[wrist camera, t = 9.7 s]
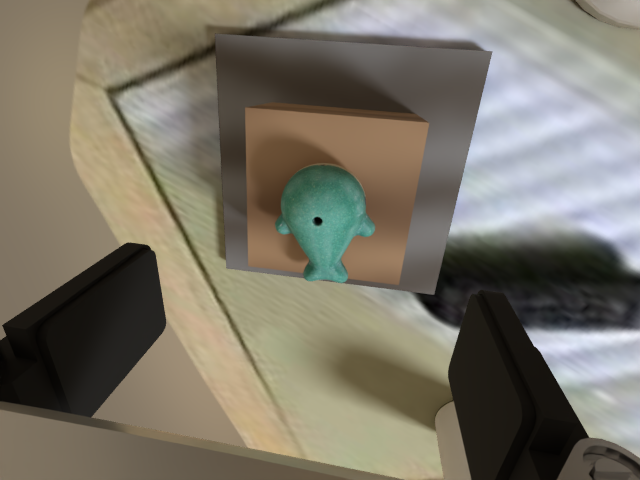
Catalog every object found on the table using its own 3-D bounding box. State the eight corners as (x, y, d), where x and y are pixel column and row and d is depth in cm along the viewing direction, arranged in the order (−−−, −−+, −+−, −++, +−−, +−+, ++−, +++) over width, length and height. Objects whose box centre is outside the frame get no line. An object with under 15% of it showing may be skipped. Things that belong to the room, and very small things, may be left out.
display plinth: (220, 35, 24) (167, 18, 18) (487, 52, 23) (533, 40, 16) (230, 263, 32) (195, 307, 25) (432, 288, 30) (448, 342, 24)
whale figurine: (379, 160, 20) (381, 177, 16) (371, 275, 23) (371, 309, 19) (277, 158, 20) (257, 173, 17) (282, 269, 23) (267, 301, 20)
